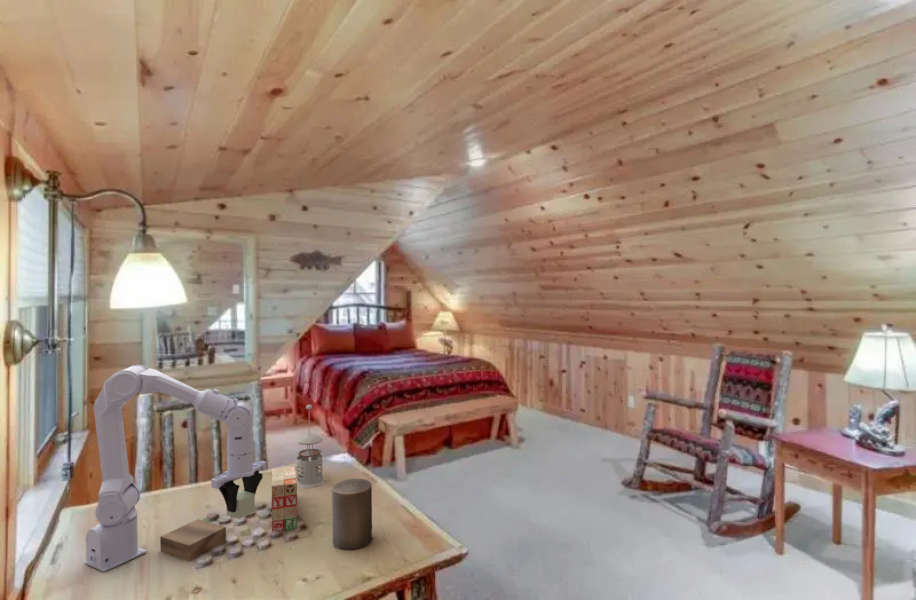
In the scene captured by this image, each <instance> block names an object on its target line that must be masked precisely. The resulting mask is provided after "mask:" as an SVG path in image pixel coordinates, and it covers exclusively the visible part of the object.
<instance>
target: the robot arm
mask: <svg viewBox="0 0 916 600" xmlns="http://www.w3.org/2000/svg"><path fill="white" fill-rule="evenodd" d="M140 392H141V395H147V394H153V393H161V394H164V395H166V396H170V397H172V398H175V399H178V400H182V401H184V402H187V403H189V404H192V406H193V407H194V410H195V411H196V412H197V413H200V414H202V415H205V416H207V417H210V418H212V419H215V420H217V421H220V422H224V424H225V425H226V427H227V435H226V440H227V443H226V446H227V447H226V452H227V453H226V455H227V457H226V458H227V462H226V463H227V470H226V471H224V472H222V473H221V474H219V475H218V476H216V477H214V478H211V481H210V482H211V484H210V485H211V489H215V490H218V491H219V492H220V494H221V495H222V497H223V500H224V502H225V505H226V510H227V509H228V511H229V512H233V513H234V512H236V506H237V493H238V492H239V489H240V485H239V484H236V483H235V482H234V481H237V480H240V479H241V480H242V483H243V485H242V486H243V491H247V492H250V493H254V494H255V495H256V493H257V490H258V487H259V484H260V483H261V482H262V480H263V478H264V477H263V475H264V474H263V473H261V472H260V471H265V470H267V468H268V467H267V466H268V465H267V461H266V460H265V461H264V460H260V461H256V462H255V461H253V457H254V456H253V455H254V454H253V451H254V449H253V448H254V446H253V441H254V440H253V430H252V429H253V426H252V418H253V417H254V408H253V407H252V405H251V403H248V402H247V401H246V400H239V398H236V397H234V398H231V397H229V396H227V395H224V394H222V393H220V390H219V389H217V388H214V389H213V390H212V389H210V388H208V389H205V390H201V391H200V390H198V389H196V388H194V387H192V386H190V385H188V384H186V383H184V382H183V381H180V380H178V379H176V378H174V377H171V376H169V375H167V374H165V373H163V372H160V371H159V370H157V369H154V368H148V367H147V366H145V365H143V364H134V365H130V366H128V367H127V368H125V369H122V370H119V371H117V372H116V371H115V373H113V374H112V375H111V376H110V377H108V378H107V379H106V380H105V381H104V382H103V386H102V389H101V391H100V392H99V394H98V395H97V397H96V399H95V401H94V403H93V413H94V421H95V428H96V429H95V430H96V438H97V445H98V454H99V464H100V472H101V473H100V474H101V480H102V481H101V485H100V489H99V491H98V504H97V506H96V508H95V511H94V512H95V513H94V514H95V518H96V519H97V521H98V522H99V523H98V524H97V525H95V526H93V527H92V528H90V529H88V530H87V532H86V536H85V552H86V557H85V561H84V564H86V565H88V566H90V567H92V568H94V569H97V570H99V571H100V572H107V571H109V570H111V569H113V568H115V567H118V566H119V565H122V564H124V563H127V562H129V561H131V560H132V559H136V558H137V557H139V556H142V555H143V554H146V552H147V549H144V548H142V547H140V546H139V540H138V539H139V538H138V532H139V531H138V511H137V509H136V505H137V504H138V503H139V501H140V498H141V491H140V489H139V487H138V486H137V484H136V483H135V479H134V478H135V477H134V476H133V474H131V473H130V467H129V460H128V451H127V444H126V442H127V441H126V434H125V427H124V426H125V424H124V417H123V416H124V415H123V407H124V406H125V405H127V403H128V402H129V401H130V400H131V399H132V398H133V397H134V396H135V395H136V394H138V393H140Z"/></svg>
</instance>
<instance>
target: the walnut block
mask: <svg viewBox="0 0 916 600" xmlns="http://www.w3.org/2000/svg"><path fill="white" fill-rule="evenodd" d="M159 541H160V545H159V547H160V553H163V554H166V555H168V556H172V557H174V558H179V559H180V560H185V561H186V562H191V561H193V560H195V559H197V558H199V557H200V556H203V555H204V554H206V553H208V552H210V551H212V550H214V549H215V548H217V547H219V546H221V545H222V544H224V543H226V542H227V526H223V525H221V524H216V523H213V522H209V521H205V520H203V519H199V518H197V519H195V520H193V521H191V522H189V523H186V524H184V525H182V526H179V527H178V528H176V529H174V530H171V531H169V532H167V533H165V534H163V535H161V536H160V537H159Z"/></svg>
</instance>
